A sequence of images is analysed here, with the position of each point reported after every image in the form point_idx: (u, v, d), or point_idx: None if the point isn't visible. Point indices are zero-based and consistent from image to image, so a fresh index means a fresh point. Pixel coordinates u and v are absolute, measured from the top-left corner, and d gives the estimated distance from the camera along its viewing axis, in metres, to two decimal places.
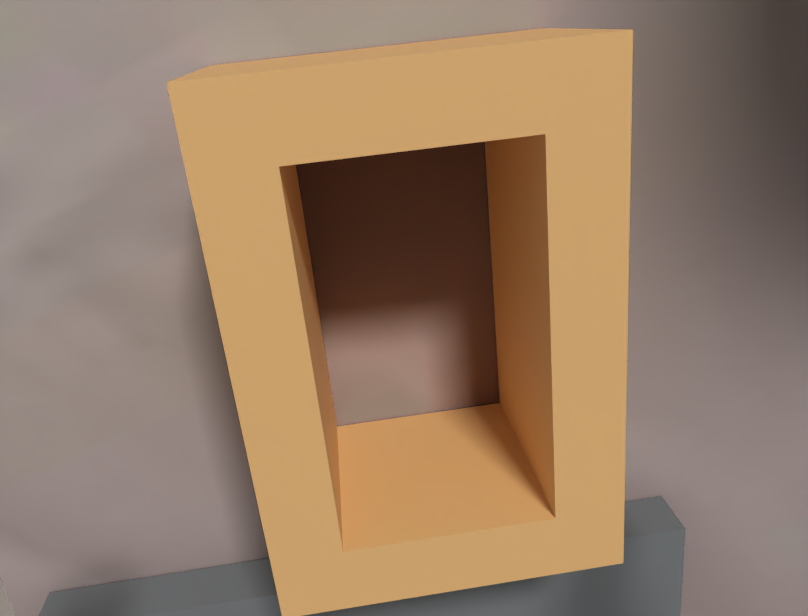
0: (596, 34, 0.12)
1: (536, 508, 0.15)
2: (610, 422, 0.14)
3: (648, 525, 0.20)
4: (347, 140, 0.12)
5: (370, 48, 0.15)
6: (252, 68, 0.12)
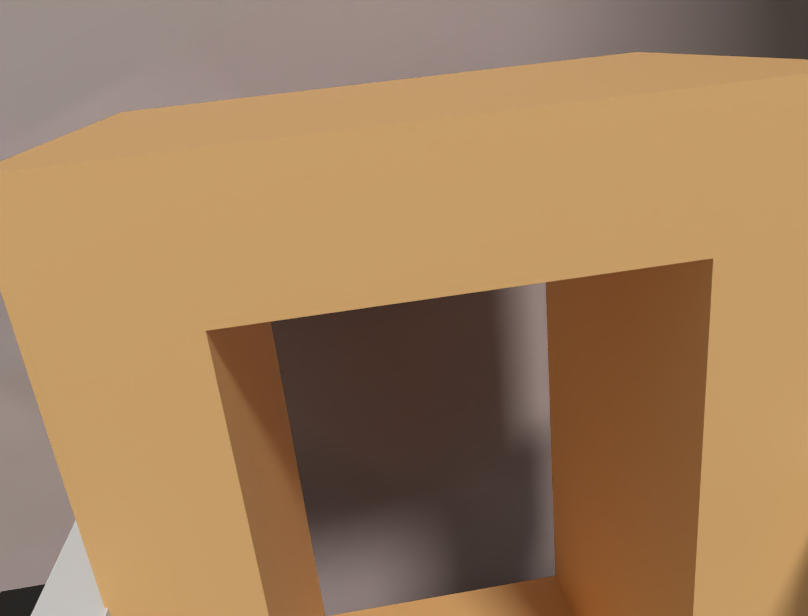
0: None
1: None
2: None
3: None
4: (339, 279, 0.06)
5: (373, 85, 0.10)
6: (162, 134, 0.07)
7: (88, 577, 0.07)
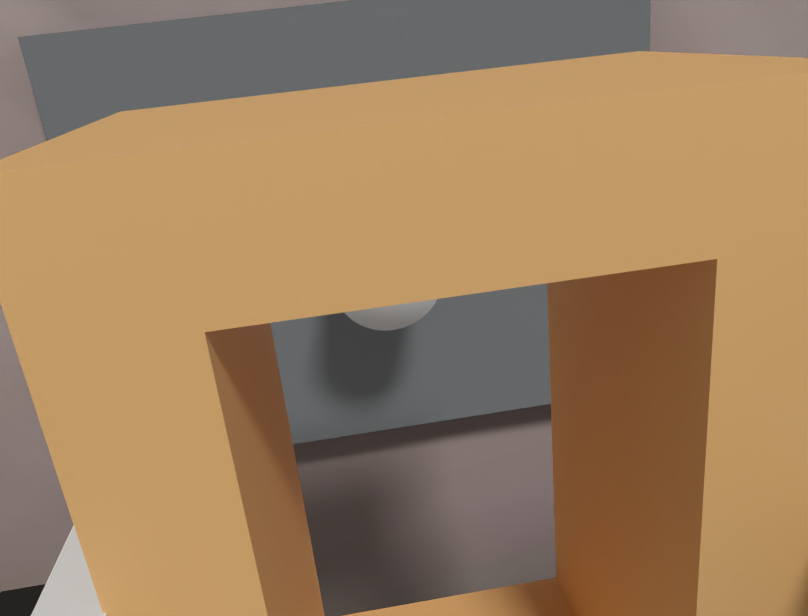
0: None
1: None
2: None
3: None
4: (339, 280, 0.06)
5: (373, 84, 0.10)
6: (160, 133, 0.07)
7: (89, 577, 0.07)
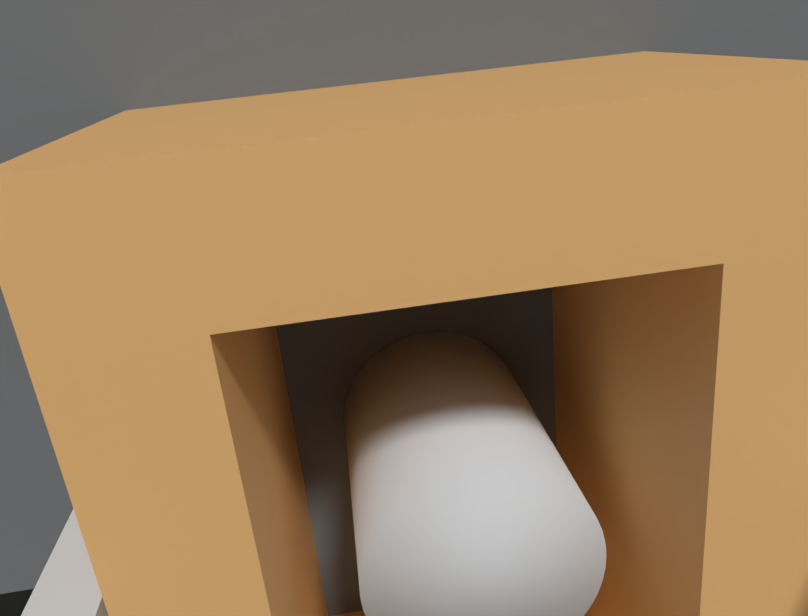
0: None
1: None
2: None
3: None
4: (345, 283, 0.06)
5: (379, 84, 0.10)
6: (166, 134, 0.07)
7: (77, 582, 0.07)
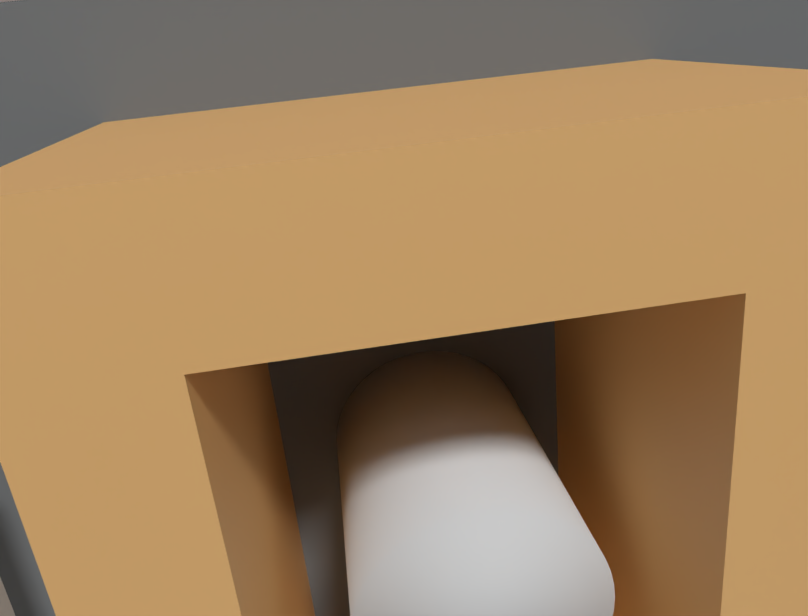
0: None
1: None
2: None
3: None
4: (333, 318, 0.05)
5: (372, 94, 0.09)
6: (139, 153, 0.06)
7: None
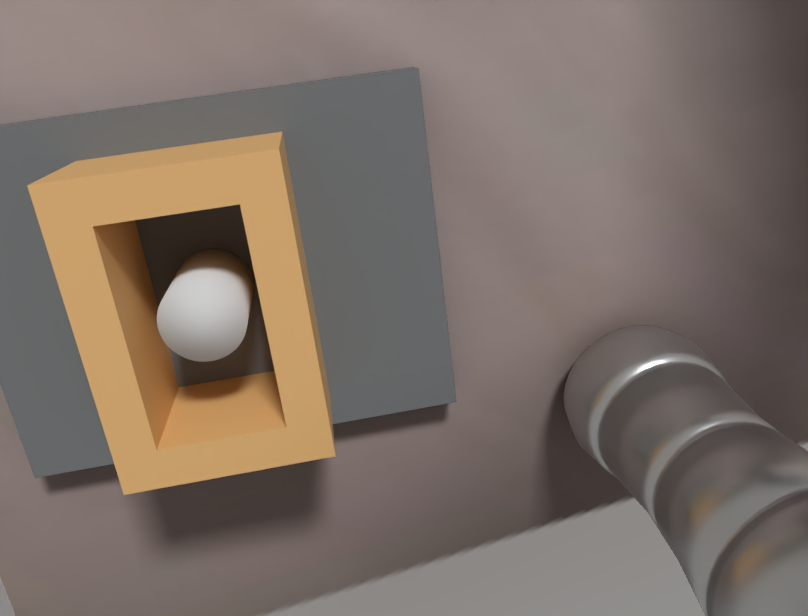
0: (259, 152, 0.22)
1: (278, 423, 0.26)
2: (309, 366, 0.25)
3: (393, 71, 0.27)
4: (129, 211, 0.22)
5: (171, 149, 0.26)
6: (82, 172, 0.23)
7: None
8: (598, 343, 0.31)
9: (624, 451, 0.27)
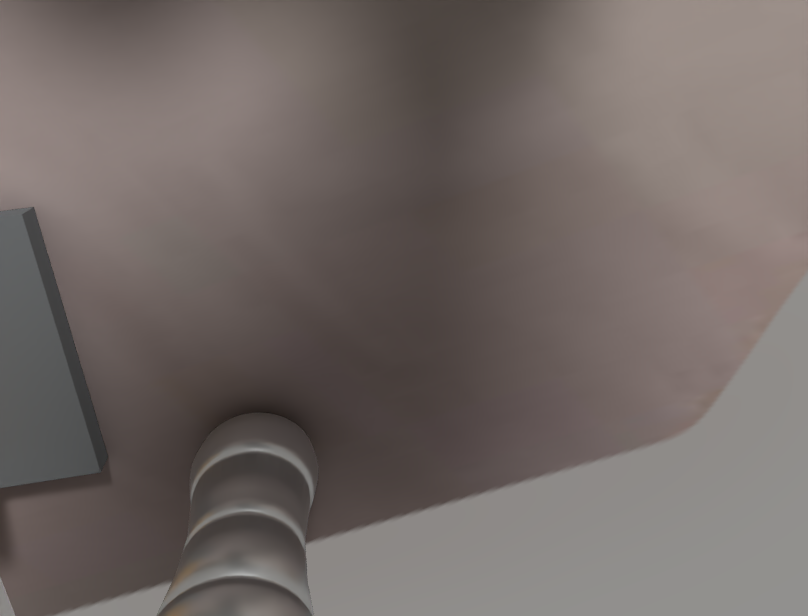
0: None
1: None
2: None
3: (4, 215, 0.33)
4: None
5: None
6: None
7: None
8: (217, 427, 0.38)
9: (188, 526, 0.33)
